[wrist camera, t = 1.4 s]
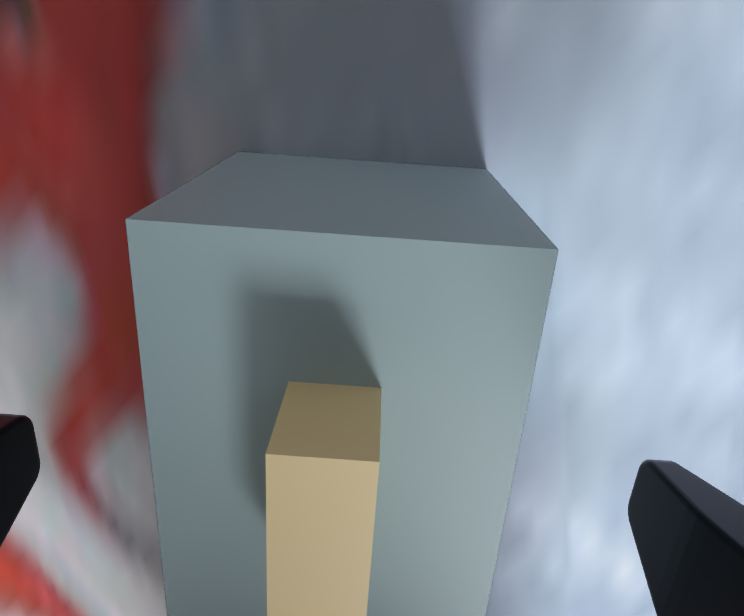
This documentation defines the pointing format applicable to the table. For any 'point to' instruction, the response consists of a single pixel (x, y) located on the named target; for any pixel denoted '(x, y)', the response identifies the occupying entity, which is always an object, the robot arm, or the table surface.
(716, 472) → the table surface
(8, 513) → the robot arm
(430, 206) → the cabinet
